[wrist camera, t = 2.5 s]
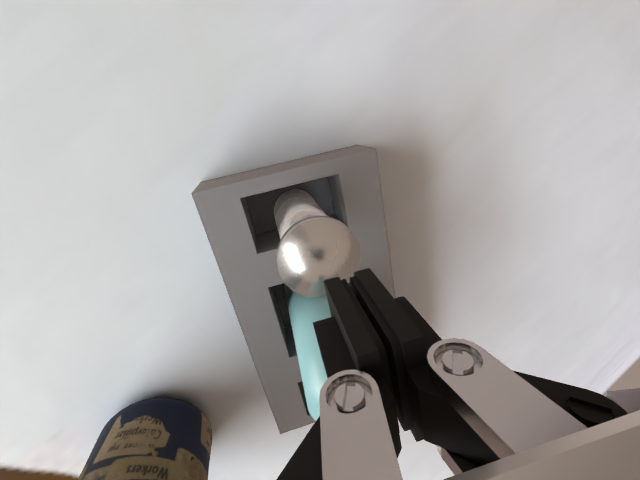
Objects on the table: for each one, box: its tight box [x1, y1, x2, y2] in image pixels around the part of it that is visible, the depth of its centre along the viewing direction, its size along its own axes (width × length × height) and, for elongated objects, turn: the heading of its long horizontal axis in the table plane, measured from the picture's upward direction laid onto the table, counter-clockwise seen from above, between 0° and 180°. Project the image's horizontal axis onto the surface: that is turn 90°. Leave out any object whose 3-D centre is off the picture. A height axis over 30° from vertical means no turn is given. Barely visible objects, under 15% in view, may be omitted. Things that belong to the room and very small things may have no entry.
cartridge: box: [285, 284, 331, 421], centre depth 22 cm, size 5×5×13 cm
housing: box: [191, 145, 395, 434], centre depth 26 cm, size 22×12×4 cm, turn 12°
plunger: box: [274, 190, 361, 297], centre depth 18 cm, size 4×4×9 cm
